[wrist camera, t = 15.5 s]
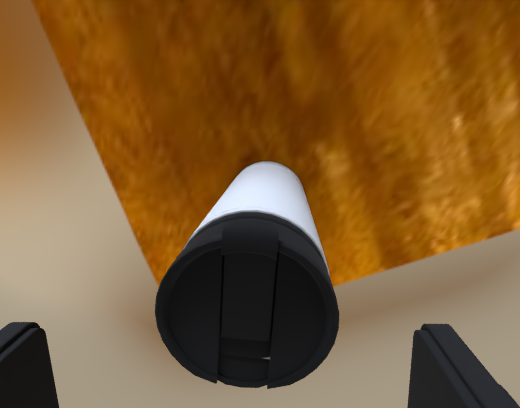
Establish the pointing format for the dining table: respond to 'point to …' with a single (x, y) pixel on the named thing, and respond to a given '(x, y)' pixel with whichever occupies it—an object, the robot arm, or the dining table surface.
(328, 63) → the dining table surface
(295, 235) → the travel mug
